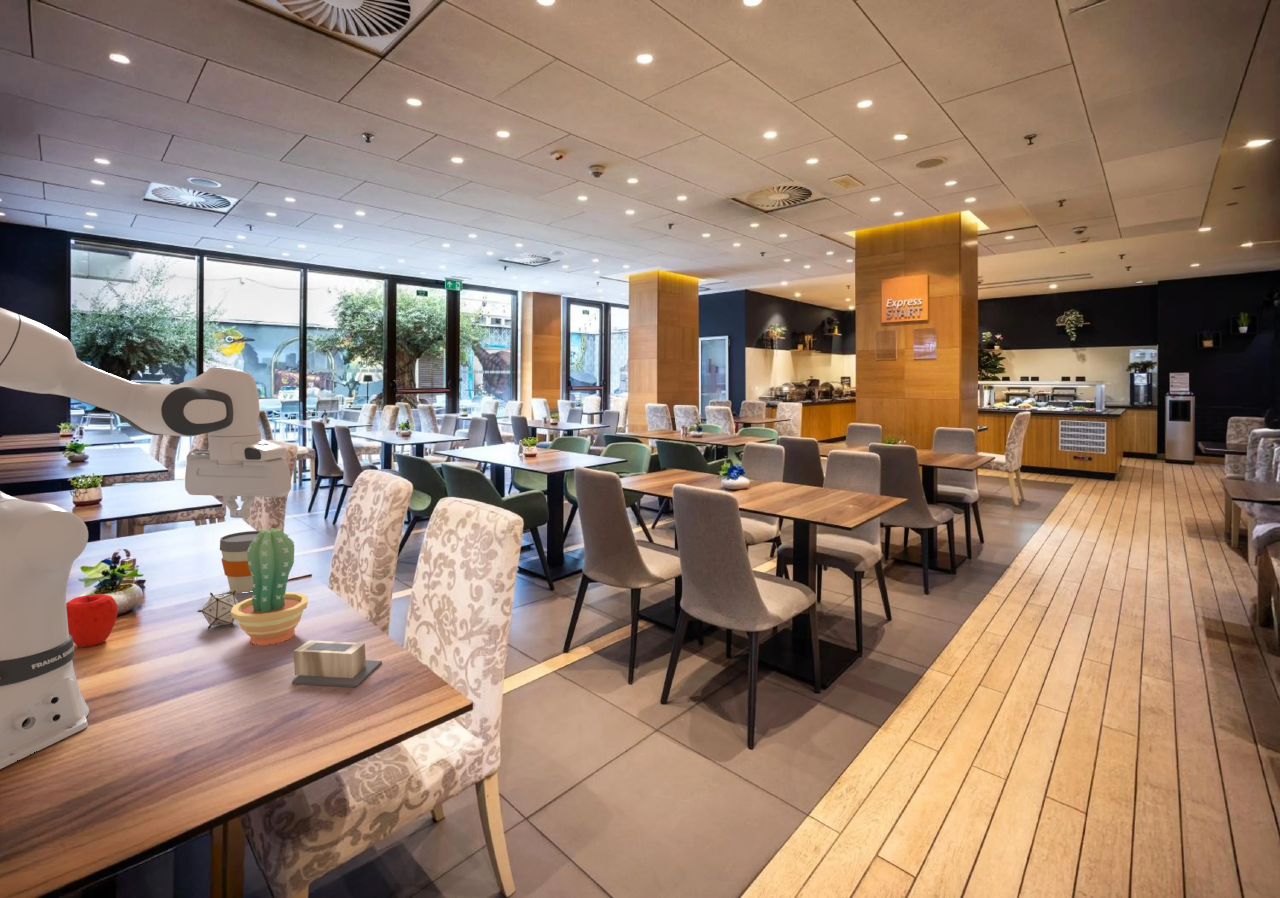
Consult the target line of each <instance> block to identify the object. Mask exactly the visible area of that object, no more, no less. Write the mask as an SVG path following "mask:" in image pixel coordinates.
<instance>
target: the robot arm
mask: <svg viewBox="0 0 1280 898" xmlns="http://www.w3.org/2000/svg"><path fill="white" fill-rule="evenodd" d="M0 387H4V388H7V389H11V390H16V391H22V392H28V393H35V394H42V395H43V394H44V395H45V394H47V395H49V394H50V395H57V396H63V397H66V398H70V399H73V400H75V401H78V402H82V403H84V404H87V405H90V406H94V407H97V408H99V409H102V410H105V411H108V412H110V413H113V414H115V415H116V416H118V417H119V418H121V419H123V420H124V421H125V422H126V423H127V424H128V425H130V426H131V427H132V428H133V429H135V430H136V431H138V432H140V433H143V434H145V435H151V436H171V437H172V436H174V437H183V438H184V437H185V438H186V437H187V438H188V437H190V438H191V437H197V436H200V435H204V434H207V440H208V441H207V443H208V448H203V449H202V448H194V449H192V450H191V451H190V452H188V453H187V455H186V467H185V473H184V474H185V475H184V476H185V478H184V479H185V480H184V488H185V491H186V492H187V494H188V495H191V496H216V497H217V496H222V498H223V499H222V501H223V503H224V504H225V506H226V507H227V509H228V510H229V516H230V518H232V519H233V518H234V519H235V518H236V519H239V518H240V519H247V518H249V517H250V516H251V510H250V509H251V507H252V505H253V504H254V502H255V500H256V499H255V498H256V497H259V498H260V497H261V498H263V497H264V498H269V497H270V498H280V497H285V496H286V495H289V493H290V492H291V490H292V476H291V471H290V470H291V469H290V465H289V463H288V462H287V460H286V459H284V458H285V457H287V448H286V447H285V446H282V445H279V444H276V443H275V442H274V443H273V442H271V441H268V440H266V439H263V438H262V433H261V432H262V431H261V429H260V427H259V426H260V425H259V417H260V412H261V411H260V400H259V399H260V398H259V393H258V387H257V384H256V380H255V378H254V376H253V374H251V373H249V372H248V371H245V370H242V369H238V368H232V367H224V366H211V367H208V369H207V370H206V371H205V372H203V373H201V374H199V375H198V376H195V377H194V378H191V379H189V380H186V381H184V382H179V384H169V383H168V384H166V383H158V382H134V381H130V380H127V379H125V378H122V377H120V376H117V375H114V374H112V373H108V372H106V371H105V370H102V369H98V368H96V367H94V366H91V365H89V364H87V363H85V362H83V361H81V359H79V358H78V357H77V353H76V349H75V347H74V345H73V344H72V342H71V341H70V339H69V338H68V337H66V336H64V335H62V334H61V333H59V332H58V331H56V330H54V329H52V328H50V327H48V326H47V325H44V324H43V323H41V322H38V321H36V320H33V319H31V318H28V317H27V316H24V315H22V314H18V313H16V312H13V311H10V310H7V309H6V308H2V307H0ZM238 497H240V502H242V505H241V507H240V506H239V504H238V503H237V501H236V500H237V499H238ZM88 539H89V530H88V526H87V525H86V523H85V522H84V520H83V519H82V518H81V517H79V516H78V515H77V514H75V513H73V512H71V511H69V510H68V509H66V508H63V507H61V506H59V505H56V504H54V503H53V504H52V503H47V502H46V503H45V502H37V501H31V500H24V499H21V498H17V497H14V496H11V495H9V494H6V493H5V492H3V491H1V490H0V770H1V769H4V768H5V767H8V766H10V765H12V764H14V763H16V762H18V761H19V760H22V759H24V758H26V757H28V756H30V754H31V755H34V752H35V753H37V752H38V751H41V750H43V749H45V748H47V747H49V746H52V745H54V744H56V743H58V742H60V741H61V740H64V739H66V738H68V737H70V736H72V735H75V734H77V733H78V732H80V731H83V730H84V729H86V728H87V727H88V726H89V723H88V720H87V716H88V715H89V713H90V708H89V705H87V703H86V701H85V698H84V697H83V694H82V691H81V689H80V686H79V684H78V679H77V675H76V672H75V668H74V664H73V663H74V662H73V659H74V657H75V647H74V642H73V639H72V636H71V635H69V631H68V620H67V607H66V603H67V590H68V589H67V588H68V583H69V579H70V575H71V570H72V567H73V565H74V562H75V560H77V558H79V557H80V556H81V554H82V553H83V552H84V551H85V548H86V547H87V544H88V541H89V540H88ZM36 751H37V752H36ZM17 760H18V761H17Z"/></svg>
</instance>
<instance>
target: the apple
mask: <svg viewBox="0 0 1280 898" xmlns="http://www.w3.org/2000/svg"><path fill="white" fill-rule="evenodd" d="M66 607H67V620H68V631H69V635H71V636H72V639H73V644H75V645H77V647H82V648H87V647H94V646H98V645H101V644H102V643H104V642H105V641H106V640H107V639H108V638H109V636H110V635H111V632H112V630H113V629H114V626H115V623H116V621H117V618H118V613H119V611H118V605H117V601H116V600H115V598H114V597H113V596H112V595H108V594H101V593H98V594H97V593H96V594H89V595H88V594H87V595H82V596H78V597H74V598H72V599H70V600H68V601H66Z"/></svg>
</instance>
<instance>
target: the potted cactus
mask: <svg viewBox="0 0 1280 898" xmlns="http://www.w3.org/2000/svg"><path fill="white" fill-rule="evenodd" d="M259 531H260V532H259V533H258V534H257V536H256V537H255V538H254V540H253V541H252V542H251V543H250V546H249V548H248V550H247V557H248V566H249V570H250V572H251V575H252V578H253V592H252V595H251V596H252V597H249V598H246V599H244V600H242V601H240V602H239V603H238V604H236V605H234V606H233V608H232V610H231V615H232V617H233V618H234V619H235V620H236V622H238V625H239V626H240V629H241V631H243V632H244V633H245V634H246V635H247V636H249V639H250V640H249V643H250V642H251V643H250V644H252V643H253V644H252V645H254V644H255V645H254V646H270V645H269V644H271V645H276V644H275V643H277V644H281V643H283V642H286V641H289V640H290V639H292V638H293V637H295V635H294V634H296V630H295V629H296V628H297V626H298V624H299V623H300V621H301V618H302V616H303V612H304V610H305V609H307V607H308V602H309V595H307V594H305V593H302V592H293V591H292V592H291V591H286V590H287V585H288V579H289V575H290V572H291V571H292V568H293V566H294V563H295V542H294V540H292V539H291V538H290V537H289V534H287V533H285V532H284V531H283V530H282V528H278V529H276V528H275V527H274V528H270V529H269V530H268V529H265V528H264V529H263V528H262V530H259ZM292 636H293V637H292ZM285 640H286V641H285ZM256 644H257V645H256Z"/></svg>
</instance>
